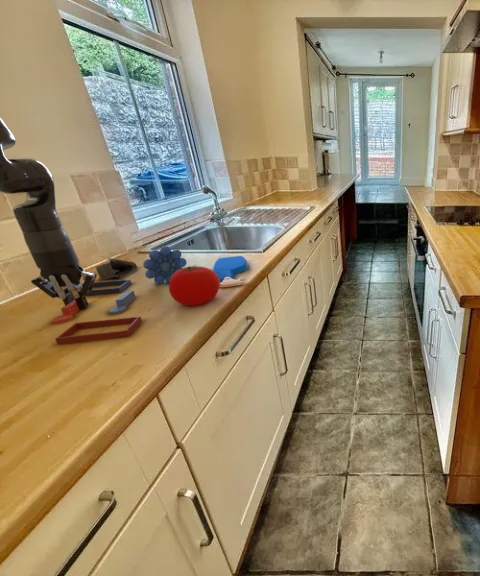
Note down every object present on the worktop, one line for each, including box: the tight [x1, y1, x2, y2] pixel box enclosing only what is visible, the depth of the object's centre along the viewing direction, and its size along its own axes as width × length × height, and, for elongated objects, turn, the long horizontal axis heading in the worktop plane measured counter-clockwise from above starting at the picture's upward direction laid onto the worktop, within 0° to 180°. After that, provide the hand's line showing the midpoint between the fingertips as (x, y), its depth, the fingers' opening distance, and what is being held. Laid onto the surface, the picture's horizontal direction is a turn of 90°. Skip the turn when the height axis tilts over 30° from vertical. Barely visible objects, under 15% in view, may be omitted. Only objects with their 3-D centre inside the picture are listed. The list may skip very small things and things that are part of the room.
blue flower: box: [142, 246, 187, 285], centre depth 100 cm, size 12×7×12 cm, turn 115°
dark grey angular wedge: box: [95, 257, 139, 281], centre depth 106 cm, size 10×7×12 cm
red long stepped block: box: [51, 298, 80, 324], centre depth 81 cm, size 10×4×3 cm, turn 13°
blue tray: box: [70, 278, 132, 298], centre depth 95 cm, size 14×7×2 cm, turn 103°
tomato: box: [168, 264, 221, 307], centre depth 87 cm, size 11×12×10 cm
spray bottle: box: [212, 255, 249, 288], centre depth 107 cm, size 3×11×25 cm
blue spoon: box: [108, 289, 137, 315], centre depth 86 cm, size 10×4×3 cm, turn 13°
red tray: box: [54, 315, 143, 345], centre depth 73 cm, size 14×7×2 cm, turn 103°
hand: (78, 309), depth 85 cm, fingers closed on red long stepped block, 1 cm apart
